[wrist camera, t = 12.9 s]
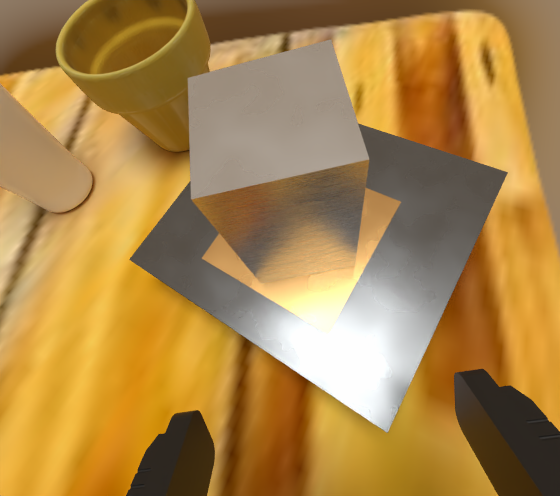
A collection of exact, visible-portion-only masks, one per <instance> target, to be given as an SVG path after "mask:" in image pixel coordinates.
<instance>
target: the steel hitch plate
mask: <svg viewBox="0 0 560 496" xmlns="http://www.w3.org/2000/svg"><path fill="white" fill-rule="evenodd" d="M358 125H359V128H360V131H361V135H362V138H363V141H364V144H365V147H366V150H367V153H368V156H369V166H368V174H367V181H366V188H365V196H364V203H363V210H362V218H361V225H360V233H359V240H358V247H357V255H356V262H355V266H352V267H347V268H341V269H336V270H331V271H325V272H320V273H315V274H310V275H304V276H299V277H294V278H289V279H283V280H278V281H273V282H267V283H262V284H261V283H260V282H259V280H258V279H257V278H256V277H255V276H254V274H253V273H252V272H251V271H250V270H249V268H248V267H247V266H246V265H245V264H244V262H243V261H242V260H241V259H240V258H239V256H238V255H237V254H236V253H235V252H234V250H233V249H232V248H231V247H230V246H229V244H228V243H227V242H226V241H225V240H224V238H223V237H222V236H221V235H220V234H219V232H218V231H217V230H216V229H215V228H214V226H213V225H212V224H211V223H210V222H209V220H208V219H207V218H206V217H205V216H204V214H203V213H202V212H201V211H200V210H199V208H198V207H197V206H196V205H195V204H194V202H193V201H192V200H191V181H190V182H189V183H188V185H187V186H186V187H185V189H184V190H183V191H182V192H181V194H180V195H179V196H178V198H177V199H176V200H175V201H174V203H173V204H172V205H171V207H170V208H169V209H168V210H167V212H166V213H165V214H164V216H163V217H162V218H161V219H160V221H159V222H158V223H157V225H156V226H155V227H154V228H153V230H152V231H151V232H150V234H149V235H148V236H147V238H146V239H145V240H144V241H143V243H142V244H141V245H140V247H139V248H138V249H137V250H136V252H135V253H134V254H133V256H132V257H131V258H130V259H129V260H131V261H132V262H134V263H135V264H137V265H138V266H140V267H141V268H143V269H144V270H146V271H147V272H149V273H150V274H152V275H153V276H155V277H156V278H158V279H159V280H161V281H162V282H164V283H165V284H166V285H168V286H169V287H171V288H172V289H174V290H175V291H177V292H178V293H180V294H181V295H183V296H184V297H186V298H187V299H189V300H190V301H192V302H193V303H195V304H196V305H198V306H199V307H201V308H202V309H204V310H205V311H207V312H208V313H210V314H211V315H213V316H214V317H216V318H217V319H219V320H220V321H222V322H223V323H225V324H226V325H228V326H229V327H230V328H232V329H233V330H235V331H236V332H238V333H239V334H241V335H242V336H244V337H245V338H247V339H248V340H250V341H251V342H253V343H254V344H256V345H257V346H259V347H260V348H262V349H263V350H265V351H266V352H268V353H269V354H271V355H272V356H274V357H275V358H277V359H278V360H280V361H281V362H283V363H284V364H286V365H287V366H289V367H290V368H291V369H293V370H294V371H296V372H297V373H299V374H300V375H302V376H303V377H305V378H306V379H308V380H309V381H311V382H312V383H314V384H315V385H317V386H318V387H320V388H321V389H323V390H324V391H326V392H327V393H329V394H330V395H332V396H333V397H335V398H336V399H338V400H339V401H341V402H342V403H344V404H345V405H347V406H348V407H350V408H351V409H353V410H354V411H355V412H357V413H358V414H360V415H361V416H363V417H364V418H366V419H367V420H369V421H370V422H372V423H373V424H375V425H376V426H378V427H379V428H381V429H382V430H384V431H385V432H387V433H388V431H389V428H390V426H391V424H392V422H393V420H394V418H395V415H396V413H397V411H398V409H399V407H400V405H401V402H402V400H403V398H404V396H405V394H406V392H407V389H408V387H409V385H410V383H411V381H412V379H413V376H414V374H415V372H416V370H417V368H418V366H419V364H420V361H421V359H422V357H423V355H424V353H425V351H426V348H427V346H428V344H429V342H430V340H431V338H432V335H433V333H434V331H435V329H436V327H437V325H438V322H439V320H440V318H441V316H442V314H443V312H444V309H445V307H446V305H447V303H448V301H449V299H450V296H451V294H452V292H453V290H454V288H455V286H456V283H457V281H458V279H459V277H460V275H461V273H462V270H463V268H464V266H465V264H466V262H467V260H468V257H469V255H470V253H471V251H472V249H473V247H474V245H475V242H476V240H477V238H478V236H479V234H480V232H481V229H482V227H483V225H484V223H485V221H486V219H487V216H488V214H489V212H490V210H491V208H492V206H493V203H494V201H495V199H496V197H497V195H498V193H499V190H500V188H501V186H502V184H503V182H504V180H505V177H506V175H507V173H508V172H505V171H502V170H499V169H496V168H493V167H490V166H486V165H483V164H480V163H477V162H474V161H471V160H468V159H465V158H462V157H459V156H456V155H453V154H450V153H447V152H444V151H440V150H437V149H434V148H431V147H428V146H425V145H422V144H419V143H416V142H413V141H410V140H407V139H404V138H401V137H398V136H395V135H391V134H388V133H385V132H382V131H379V130H376V129H373V128H370V127H367V126H364V125H361V124H358Z"/></svg>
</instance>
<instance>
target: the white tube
mask: <svg viewBox="0 0 560 496" xmlns="http://www.w3.org/2000/svg"><path fill="white" fill-rule="evenodd" d="M92 182H93V179H92V175H91V172H90V170H89V169H88V168H87V167H86V166H85V165H84V164H83V163H82V162H80V161H79V160H78V159H77V158H76V157H74V156H73V155H72V154H71V153H70V152H69V151H68V150H67V149H66V148H65V147H64V146H63V145H62V144H61V143H60V142H59V141H58V140H57V139H56V138H55V137H54V136H53V135H52V134H51V133H50V132H49V131H48V130H47V129H46V128H45V127H44V126H43V125H41V124H40V123H39V122H38V121H37V120H36V119H35V118H34V117H33V116H32V115H31V114H30V113H29V112H28V111H27V110H26V109H25V108H24V107H23V106H22V105H21V104H20V103H19V102H18V101H17V100H16V99H15V98H14V97H13V96H12V95H11V94H10V93H9V92H8V91H7V90H6V89H5V88H4V87H3V86H2V85H1V84H0V187H2V188H4V189H6V190H8V191H10V192H12V193H14V194H16V195H18V196H20V197H22V198H25V199H27V200H29V201H31V202H32V203H34V204H36V205H38V206H39V207H41V208H43V209H45V210H47V211H50V212H55V213H60V212H66V211H69V210H71V209H73V208H75V207H77V206H78V205H79V204H81V203H82V202H83V201H84V200H85V198H86V197H87V196H88V194H89V192H90V190H91V187H92Z"/></svg>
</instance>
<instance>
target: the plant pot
mask: <svg viewBox="0 0 560 496" xmlns="http://www.w3.org/2000/svg"><path fill="white" fill-rule="evenodd" d="M56 56H57V60H58V63H59V65H60V66H61V68H62V69H63V71H64V72H65V73H66V74H67V75H68V76H69V77H70V78H71V79H72V81H73V82H74V83H75V84H76V85H77V86H78V87H79V88H80V89H81V90H82V91H83V92H84V93H85V94H86V95H87V96H88V97H89V98H90V99H91V100H92V101H93V102H94V103H95V104H96V105H98V106H99V107H100V108H102V109H104V110H106V111H108V112H111V113H115V114H119V115H121V116H122V117H123V118H124V119H126V120H127V121H128V122H130V123H131V124H132V125H133V126H135V127H136V128H137V129H139V130H140V131H141V132H142V133H144V134H145V135H146V136H148V137H149V138H150V139H151V140H153V141H154V142H155V143H156V144H158V145H159V146H160V147H161V148H163V149H165V150H167V151H172V152H181V151H186V150H190V143H189V106H188V78H189V77H193V76H197V75H201V74H204V73H208V72H209V67H208V61H209V57H210V42H209V37H208V34H207V31H206V28H205V26H204V23H203V20H202V17H201V14H200V12H199V9H198V7H197V4H196V2H195V0H88V1H87V2H86V3H84V4H83V5H82V6H81V7H80V8H78V9H77V11H76V12H74V14H73V15H72V16H71V17H70V19H68V21H67V22H66V24H65V25H64V27H63V28H62V30H61V32H60V35H59V37H58V40H57V44H56Z"/></svg>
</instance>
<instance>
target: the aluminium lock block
mask: <svg viewBox="0 0 560 496" xmlns="http://www.w3.org/2000/svg"><path fill="white" fill-rule="evenodd" d="M188 106H189V143H190V180H191V200H192V201H193V202H194V204H195V205H196V206H197V207H198V208H199V210H200V211H201V212H202V213H203V214H204V216H205V217H206V218H207V219H208V220H209V222H210V223H211V224H212V225H213V226H214V228H215V229H216V230H217V231H218V232H219V234H220V235H221V236H222V237H223V238H224V240H225V241H226V242H227V243H228V244H229V246H230V247H231V248H232V249H233V250H234V252H235V253H236V254H237V255H238V256H239V258H240V259H241V260H242V261H243V262H244V264H245V265H246V266H247V267H248V268H249V270H250V271H251V272H252V273H253V274H254V276H255V277H256V278H257V279H258V280H259V282H260V283H261V284H262V283H267V282H273V281H278V280H283V279H289V278H294V277H299V276H304V275H310V274H315V273H320V272H325V271H331V270H336V269H341V268H347V267H352V266H355V262H356V255H357V247H358V240H359V233H360V225H361V218H362V210H363V203H364V196H365V188H366V181H367V174H368V166H369V156H368V153H367V150H366V147H365V144H364V141H363V138H362V135H361V131H360V128H359V125H358V122H357V119H356V116H355V113H354V110H353V107H352V103H351V100H350V97H349V94H348V91H347V88H346V85H345V82H344V79H343V76H342V72H341V69H340V66H339V63H338V60H337V57H336V54H335V51H334V48H333V44H332V41H331V40H327V41H324V42H320V43H316V44H312V45H309V46H305V47H301V48H298V49H294V50H290V51H286V52H283V53H279V54H275V55H271V56H268V57H264V58H260V59H257V60H253V61H249V62H245V63H242V64H238V65H234V66H230V67H227V68H223V69H219V70H216V71H212V72H208V73H204V74H201V75H197V76H193V77H189V78H188Z"/></svg>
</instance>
